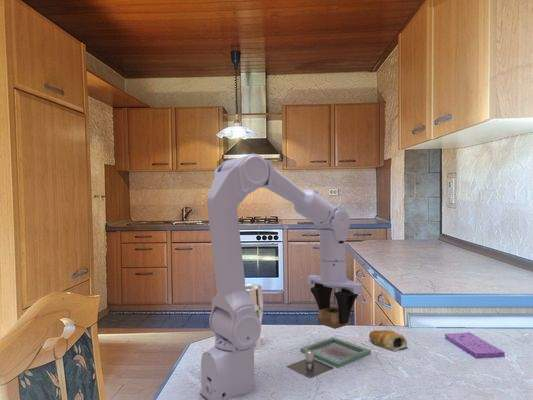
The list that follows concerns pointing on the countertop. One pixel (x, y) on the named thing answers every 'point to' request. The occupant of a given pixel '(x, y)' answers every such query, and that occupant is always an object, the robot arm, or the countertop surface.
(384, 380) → the countertop surface
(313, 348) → the tray
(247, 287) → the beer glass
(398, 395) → the countertop surface
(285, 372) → the countertop surface
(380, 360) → the countertop surface
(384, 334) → the pastry
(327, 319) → the collar
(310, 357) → the grey peg base
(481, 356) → the sponges
